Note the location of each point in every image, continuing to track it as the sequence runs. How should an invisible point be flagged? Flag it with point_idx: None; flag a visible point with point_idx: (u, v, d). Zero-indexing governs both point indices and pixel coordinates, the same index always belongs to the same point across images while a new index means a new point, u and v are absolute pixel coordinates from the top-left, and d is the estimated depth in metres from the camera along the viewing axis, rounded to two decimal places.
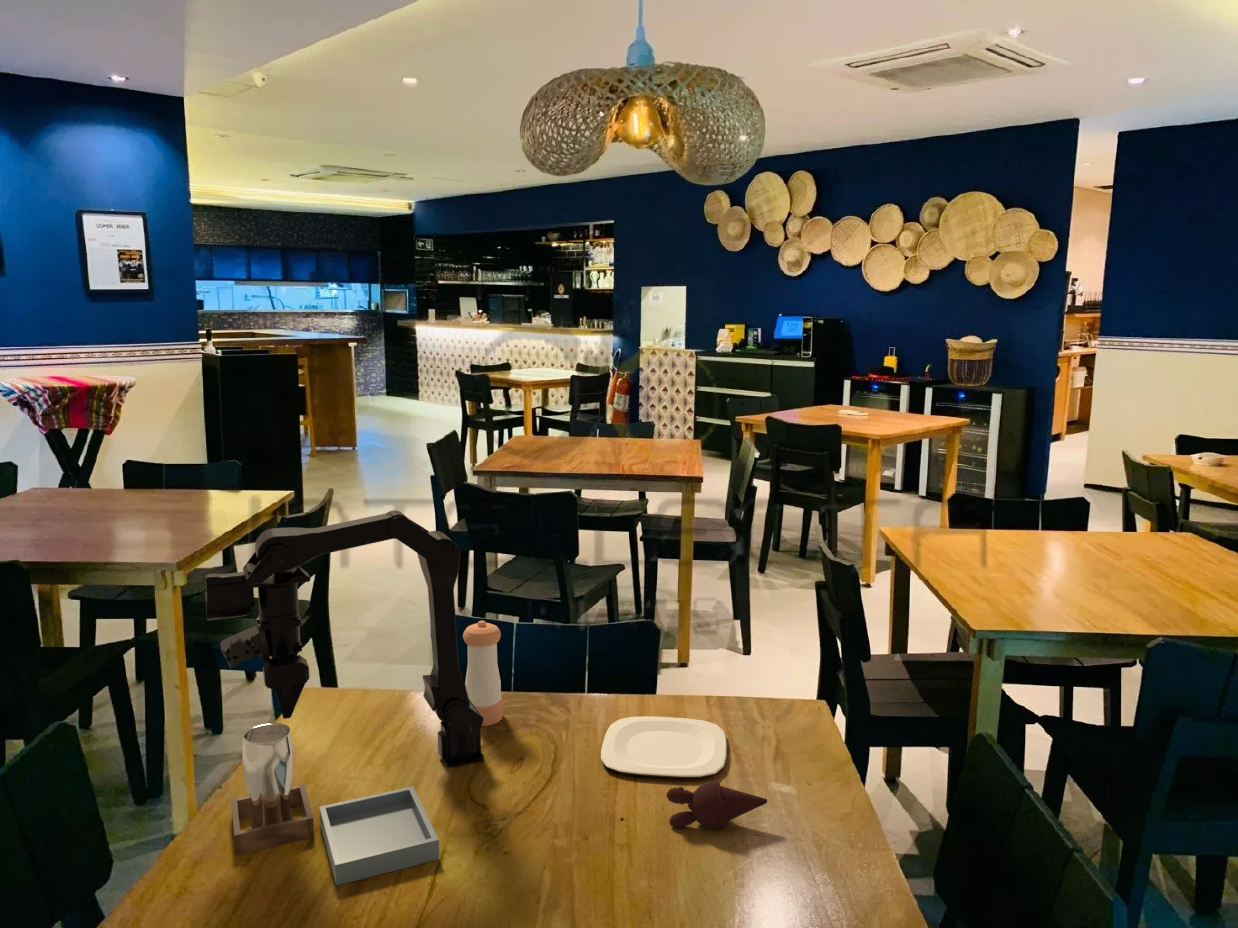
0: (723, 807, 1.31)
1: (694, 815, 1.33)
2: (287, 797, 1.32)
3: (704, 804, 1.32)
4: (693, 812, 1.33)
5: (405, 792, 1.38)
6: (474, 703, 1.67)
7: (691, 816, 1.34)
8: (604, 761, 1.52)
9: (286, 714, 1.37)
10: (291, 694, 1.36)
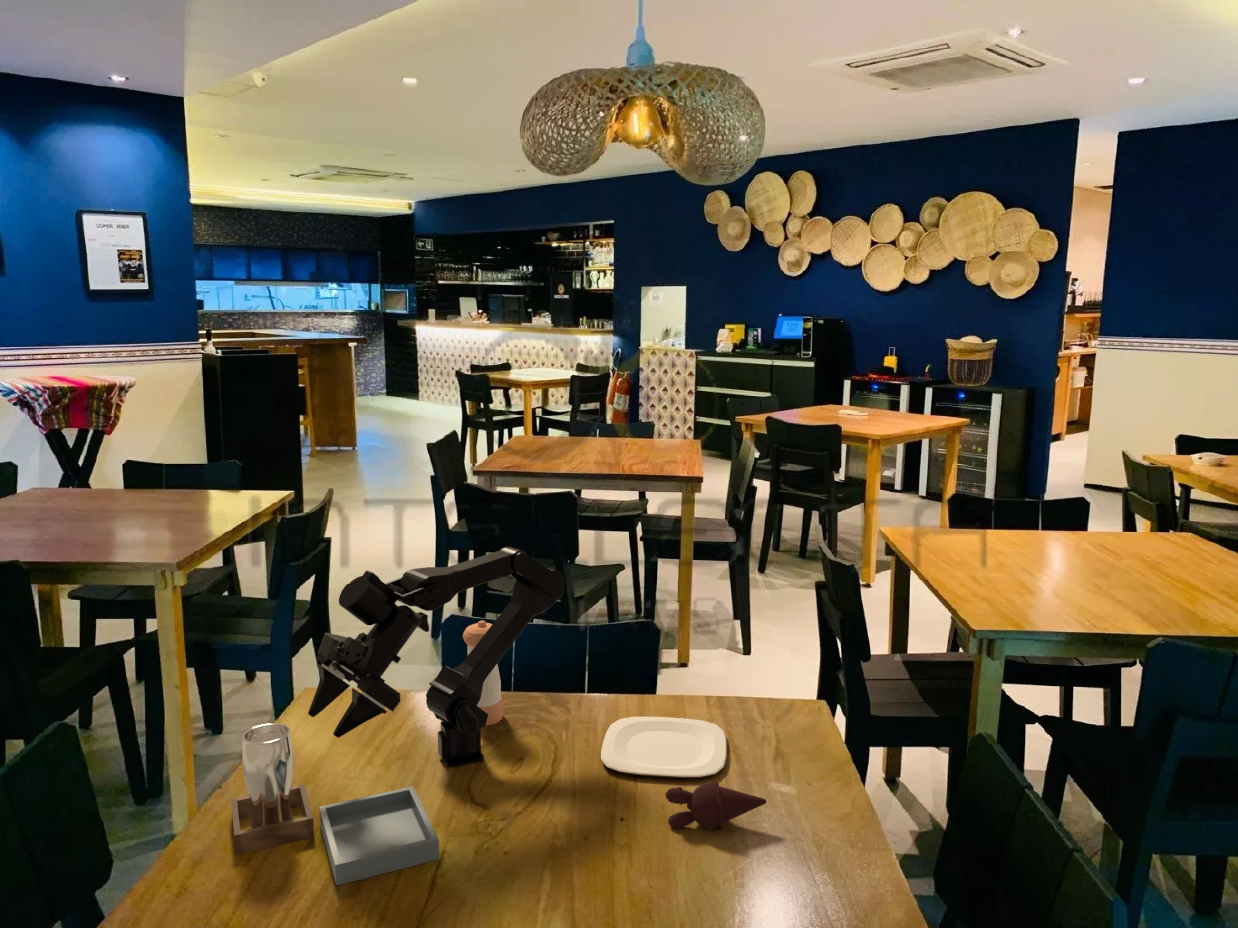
0: (722, 807, 1.31)
1: (693, 815, 1.33)
2: (287, 797, 1.32)
3: (703, 804, 1.32)
4: (692, 812, 1.33)
5: (405, 792, 1.38)
6: None
7: (690, 816, 1.33)
8: (604, 761, 1.52)
9: (339, 732, 1.34)
10: (359, 716, 1.35)
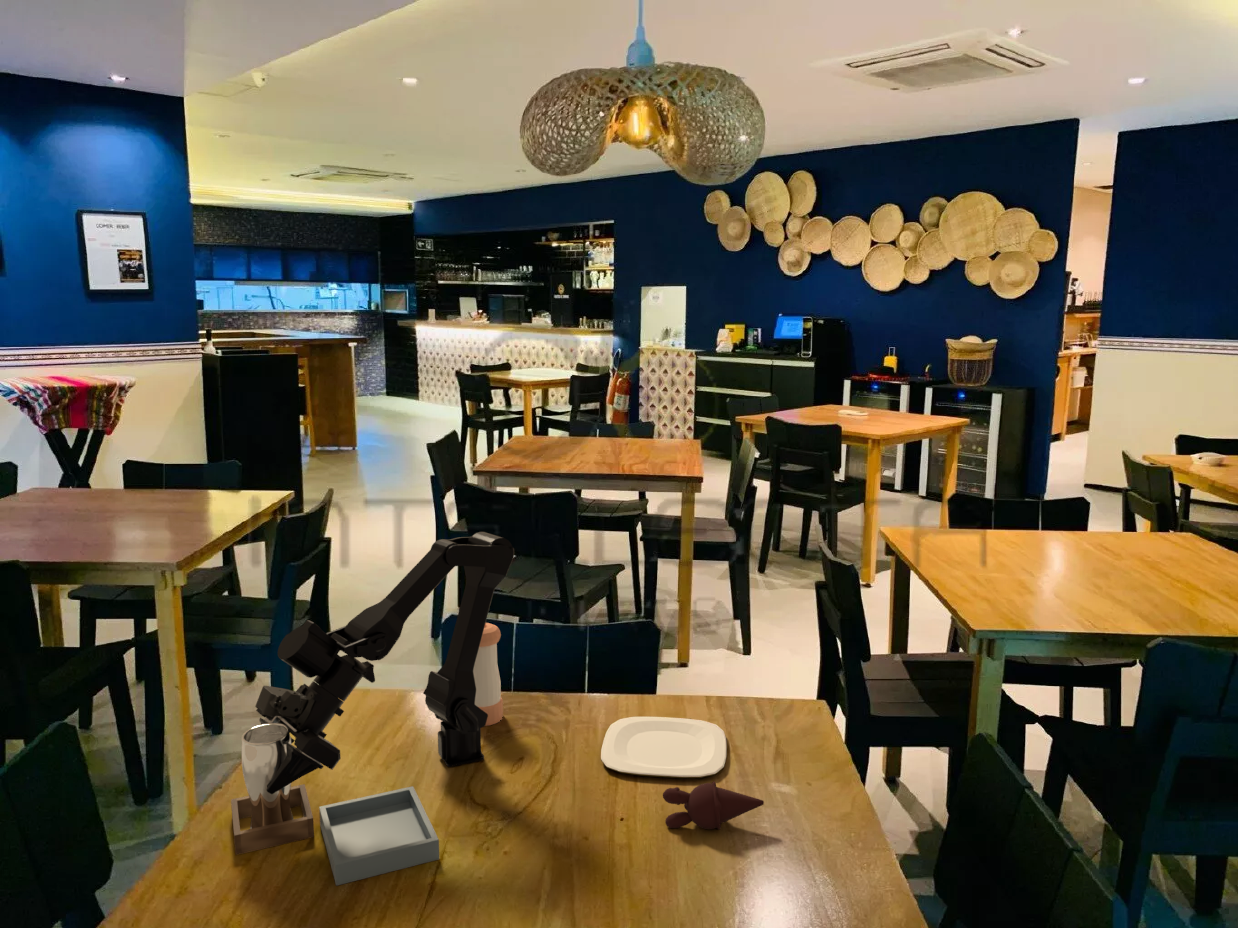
0: (719, 808, 1.31)
1: (690, 816, 1.33)
2: (287, 797, 1.32)
3: (700, 805, 1.32)
4: (689, 813, 1.33)
5: (405, 792, 1.38)
6: None
7: (687, 817, 1.33)
8: (604, 761, 1.52)
9: (272, 788, 1.29)
10: (294, 772, 1.30)
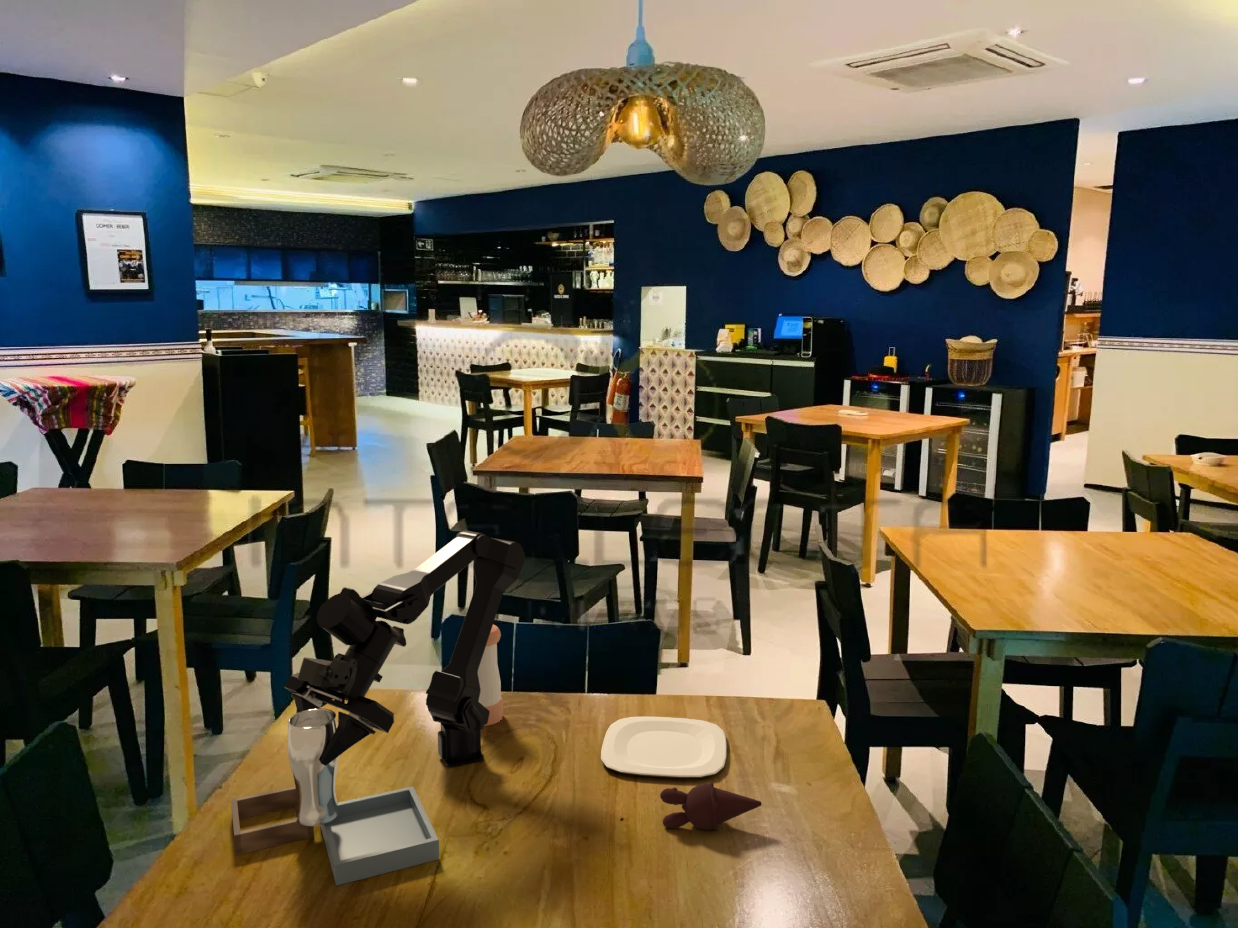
0: (716, 809, 1.30)
1: (687, 816, 1.33)
2: None
3: (697, 805, 1.31)
4: (686, 813, 1.33)
5: (405, 792, 1.38)
6: None
7: (684, 817, 1.33)
8: (604, 761, 1.52)
9: (326, 760, 1.26)
10: (347, 740, 1.27)
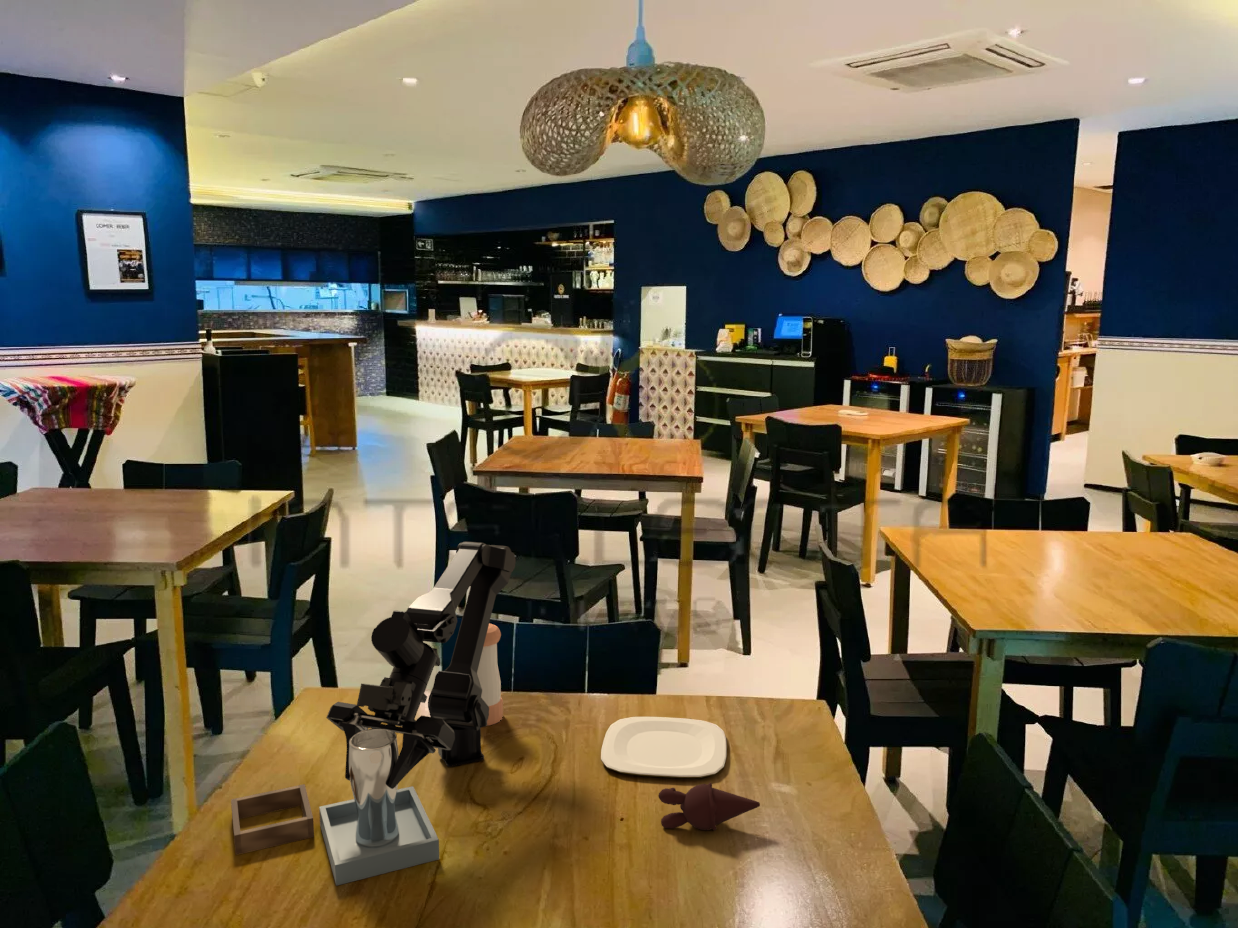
0: (714, 809, 1.30)
1: (685, 816, 1.33)
2: None
3: (695, 806, 1.31)
4: (684, 813, 1.33)
5: (405, 792, 1.38)
6: None
7: (682, 817, 1.33)
8: (604, 761, 1.52)
9: (393, 783, 1.26)
10: (410, 761, 1.28)
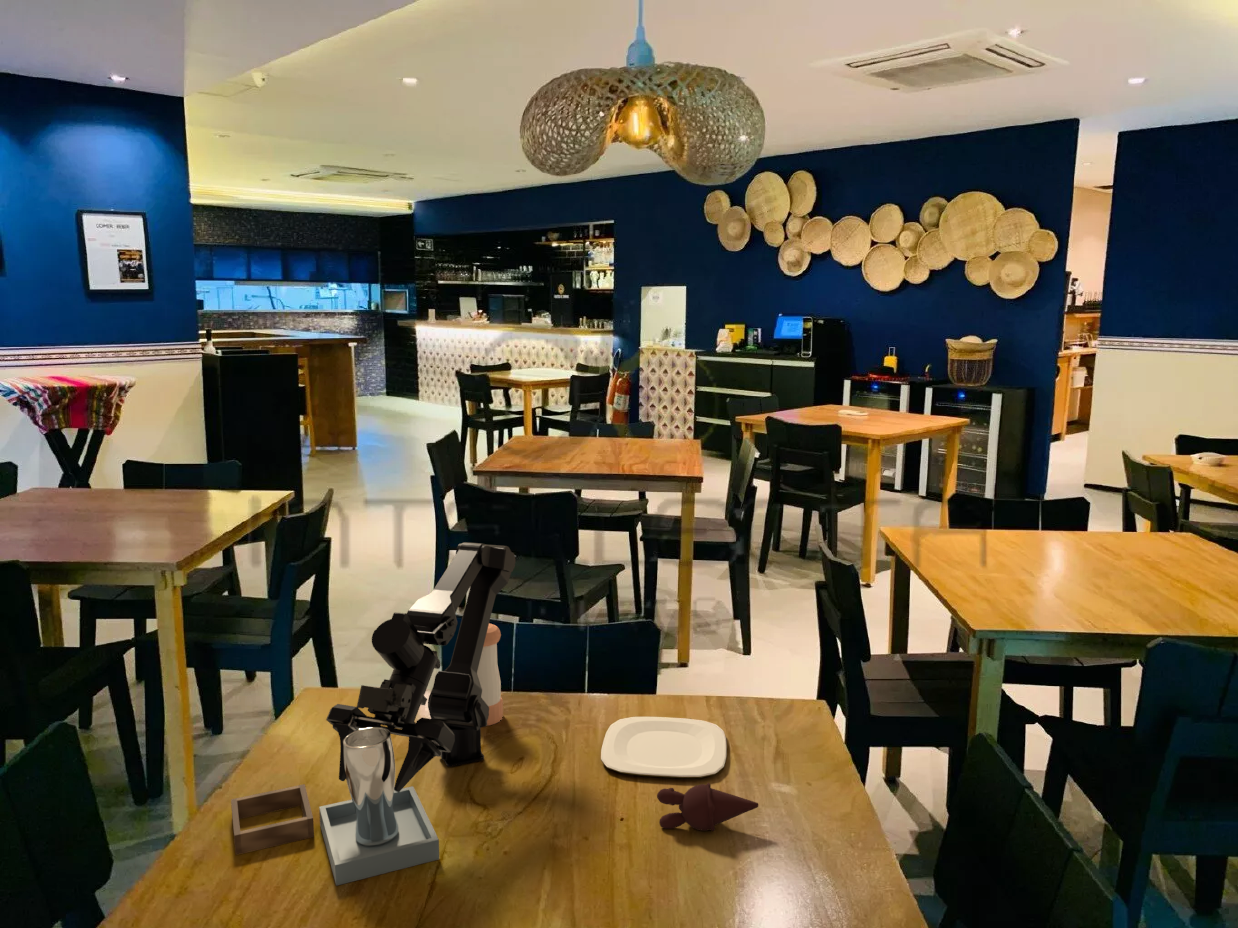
0: (712, 810, 1.30)
1: (684, 817, 1.33)
2: (393, 796, 1.30)
3: (693, 806, 1.31)
4: (683, 814, 1.33)
5: (405, 792, 1.38)
6: None
7: (681, 817, 1.33)
8: (604, 761, 1.52)
9: (399, 786, 1.26)
10: (416, 765, 1.28)
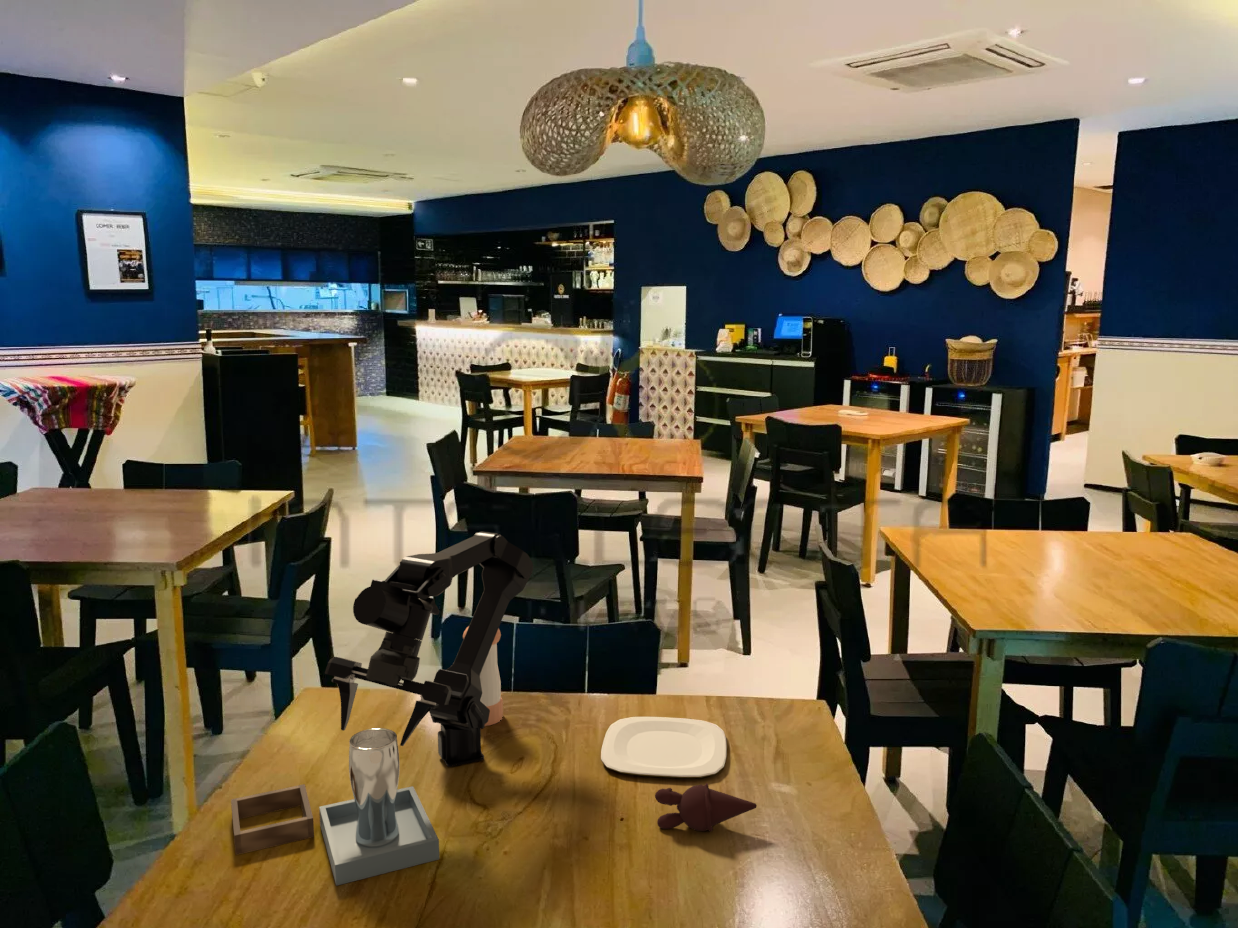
0: (709, 810, 1.30)
1: (681, 817, 1.33)
2: None
3: (691, 806, 1.31)
4: (680, 814, 1.33)
5: (405, 792, 1.38)
6: None
7: (679, 818, 1.33)
8: (604, 761, 1.52)
9: None
10: (418, 719, 1.37)
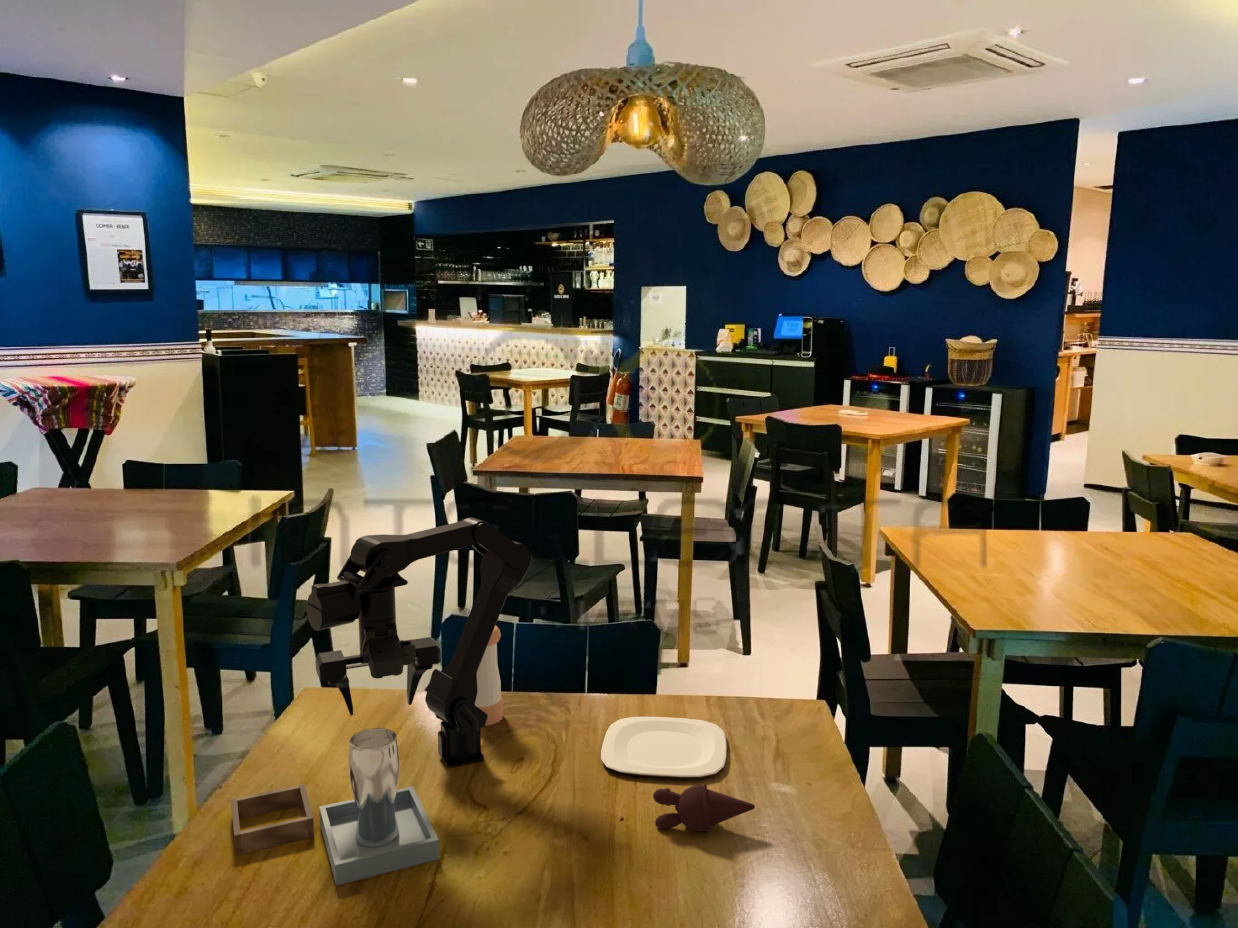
0: (707, 810, 1.30)
1: (679, 817, 1.32)
2: None
3: (689, 807, 1.31)
4: (678, 814, 1.33)
5: (405, 792, 1.38)
6: None
7: (677, 818, 1.33)
8: (604, 761, 1.52)
9: None
10: None
